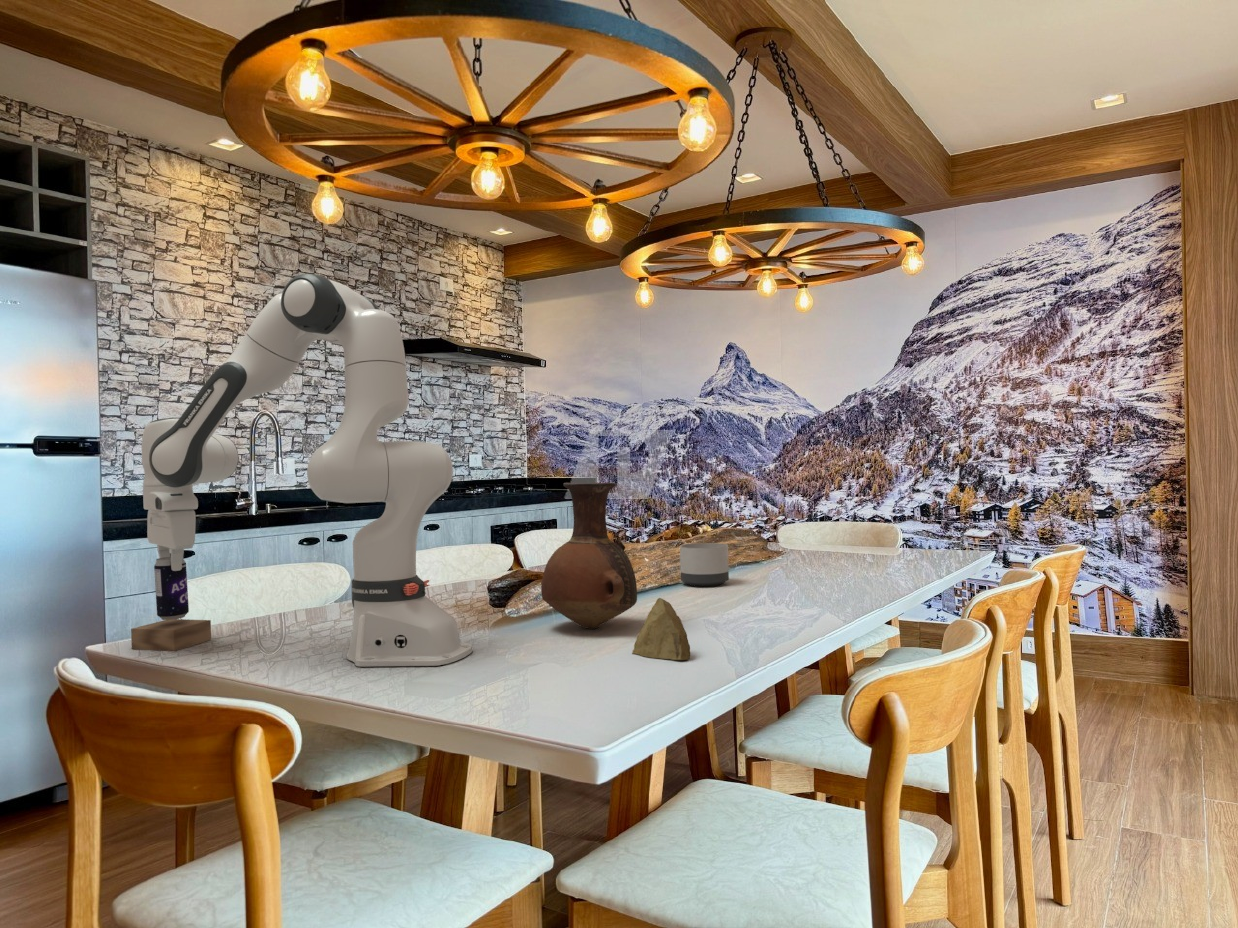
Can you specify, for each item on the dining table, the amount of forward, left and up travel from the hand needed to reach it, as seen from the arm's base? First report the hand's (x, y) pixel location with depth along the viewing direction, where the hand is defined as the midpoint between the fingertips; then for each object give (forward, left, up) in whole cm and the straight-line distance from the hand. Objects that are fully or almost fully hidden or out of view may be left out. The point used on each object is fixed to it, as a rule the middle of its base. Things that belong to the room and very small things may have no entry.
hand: (170, 568), depth 174 cm
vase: (-79, -27, -15) cm, 85 cm away
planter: (-93, -87, -15) cm, 128 cm away
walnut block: (0, 0, -15) cm, 15 cm away
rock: (-99, -4, -15) cm, 100 cm away
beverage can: (0, 0, -10) cm, 10 cm away
